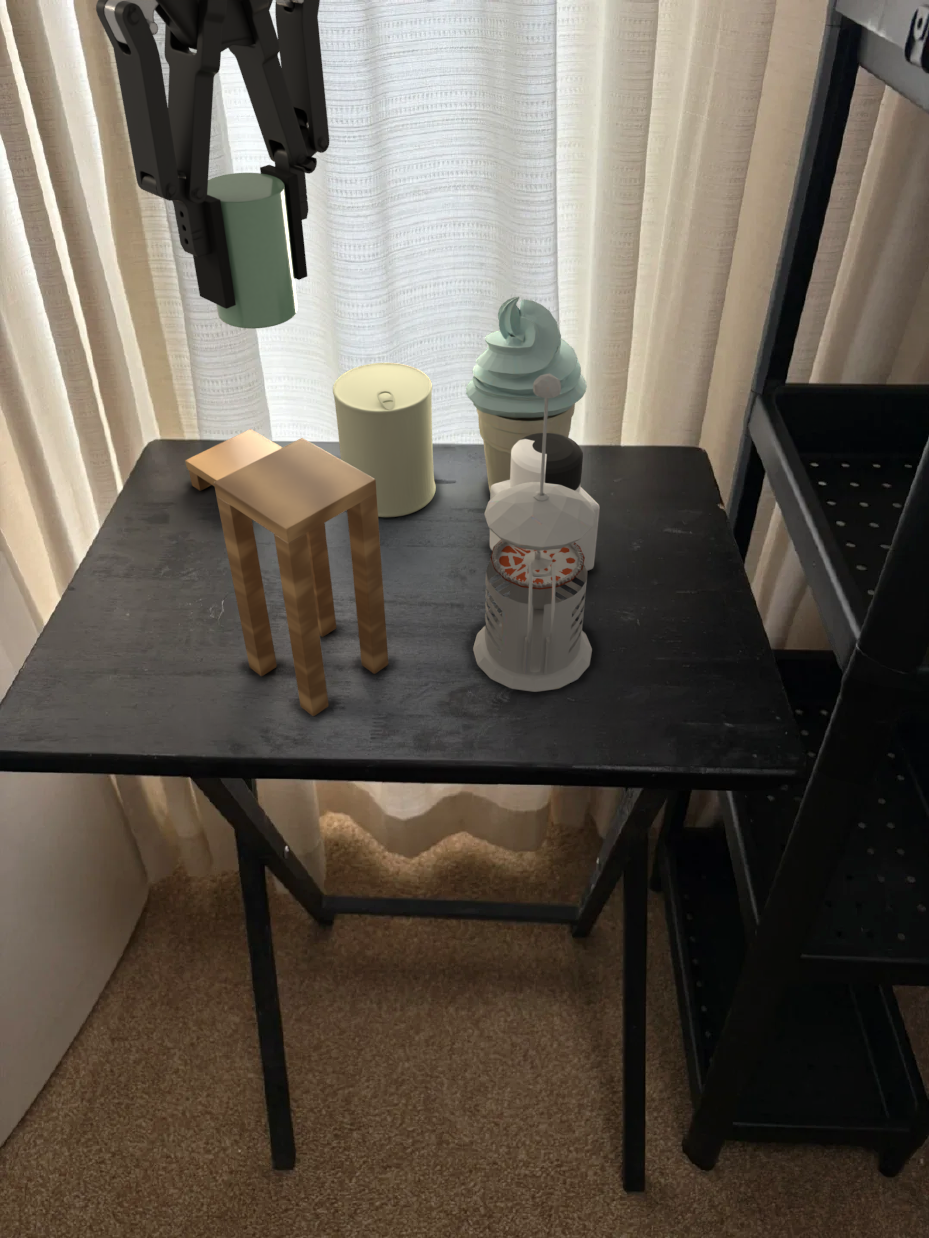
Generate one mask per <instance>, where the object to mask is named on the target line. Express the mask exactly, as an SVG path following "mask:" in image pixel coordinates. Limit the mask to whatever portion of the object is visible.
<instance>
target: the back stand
mask: <svg viewBox="0 0 929 1238" xmlns="http://www.w3.org/2000/svg"><path fill="white" fill-rule="evenodd" d="M281 448H283V447H282V446H281V445H279V444H277V443H275V442H274V441H272V440H270V439H269V438H267V437H265V436H264V435H262V434H260V433H259V432H257V431H255V430H253V429H252V428H249V429H247V430H245V431H243V432H241V433H239V434H237V435H235V436H233V437H231V438H229V439H226V440H224V441H222V442H220V443H218V444H216V445H214V446H212V447H210V448H208V449H206V450H204V451H201V452H200V453H197V454H195V455H192V456H191V457H188V458H187V459H185V460H184V461H185V466H186V469H187V470H188V473H189V478H190V483H191V486H192V487H194V488H195V489H196V490H198V491H200V492H201V491H203V490H206V489H207V488H209V487H211V486H213V487H215V486H214V482H215V481H217V480H219V479H221V478H223V477H225V476H227V475H229V474H231V473H233V472H235V471H237V470H239V469H241V468H243V467H245V466H247V465H249V464H251V463H253V462H255V461H257V460H259V459H261V458H263V457H265V456H267V455H269V454H271V453H273V452H275V451H277V450H279V449H281Z"/></svg>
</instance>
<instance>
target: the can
mask: <svg viewBox="0 0 929 1238" xmlns="http://www.w3.org/2000/svg"><path fill="white" fill-rule="evenodd" d="M432 391H433V383H432V380H431V379H430V377H429V375H427V374H426V373H425V372H424V371H422V370H421V369H418V368H417V367H414V366H411V365H407V364H403V363H397V362H374V363H368V364H363V365H359V366H356V367H354V368H351V369H349V370H347V371H345V372H344V373H342V374H341V375H339V376H338V377H337V379H336V380H335V381H334V383H333V386H332V395H333V398H334V406H335V415H336V424H337V425H336V426H337V433H338V434H337V435H338V443H339V454H340V460H342V461H344V462H346V463H347V464H349V465H351V466H353V467H355V468H356V469H358V470H360V471H362V472H363V473H365V474H367V475H369V476H370V477H372V478H374V479H375V480H376V492H377V493H376V494H377V508H378V518H395V517H402V516H407V515H410V514H413V513H415V512H418V511H419V510H421V509H423V508H424V507H426V506H427V505H428V504H429V503H431V501H432V500H433V498H434V497H435V495H436V494H435V493H436V490H437V489H436V487H437V486H436V482H435V475H434V473H435V472H434V452H433V451H434V450H433V408H432V407H433V405H432V404H433V403H432V397H433V395H432V393H433V392H432Z"/></svg>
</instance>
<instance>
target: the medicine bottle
mask: <svg viewBox="0 0 929 1238" xmlns="http://www.w3.org/2000/svg"><path fill="white" fill-rule="evenodd" d="M542 443H543V433H536V434H532V435H528V436H526V437H524V438H522V439H520V440H519V441H518V442H517V443H516V444H515V445H514V446H513V448H512V450H511V470H510V480H506V481H503V482H499V483H496V484H493V485H492V486H491V491H489V494H490V496H489V497H490V499H489V501H490V500H491V499H492V498H493V497H494V496H496V495H497V494H498V493H499V492H500V491H503V490H505V489H508V488H511V487H513V486H516V485H519V484H523V483H528V482H540V481H541V462H542ZM583 460H584V452H583V450H582V448H581V447H580V445H579V444H578V443H577V442H576V441H575V440H573V439H572V438H570V437H566V436H563V435H560V434H555V433H546V450H545V468H544V483H549V484H558V485H562V486H565V487H567V488H569V489H572V490H574V491H577V492H578V493H579V494H580V495H582V496H583V497H584V498H585V499H587V500H588V501H589V502H590V504H591V506H592V508H593V510H594V512H595V519H594V523H593V527H592V528H591V529H590V530H589V531H588V532H587V533H586V534H585V535H584V536H583V537H582V538H581V539H580V540H578V541H576V542H575V543H576V544H577V545H579V546H580V548H581V550H582V552H583V555H584V557H585V560H584V566H585V568H586V570H587V572H588V571H590V570H592V569H594V567H595V559H596V549H597V540H598V539H597V538H598V529H599V519H600V511H601V510H600V504H599V503H598V502H597V501H596V500H595V499H594V498H593V497H592V496H591V495H590V494H589V493H588V492H587V491H586V490H585V489H584V488H583V487H581V485H582V484H581V482H582V473H583V462H584V461H583ZM500 540H501V539H500V538H499V537H498V536H497V535H496V534H495V533H493V532H492V531H491V529H490V528H489V548H490V550H491V551H492V550H493V547H494V546H495V545H496V544H497V543H498V542H499V541H500Z"/></svg>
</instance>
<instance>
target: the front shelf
mask: <svg viewBox="0 0 929 1238" xmlns="http://www.w3.org/2000/svg"><path fill="white" fill-rule="evenodd" d="M213 487H214V490H215V491H214V492H215V495H216V502H217V506H218V511H219V518H220V522H221V527H222V531H223V532H222V533H223V538H224V543H225V547H226V553H227V558H228V563H229V569H230V573H231V578H232V584H233V588H234V594H235V600H236V604H237V609H238V613H239V614H238V616H239V620H240V625H241V630H242V631H241V632H242V635H243V642H244V645H245V651H246V656H247V661H248V667H249V669H251V670H252V671H254V672H255V673H256V674H258V675H259V676H260V677H264V676H265V675H267V674H268V673H270V672H271V671H273V670H275V668H276V669H277V659H276V653H275V652H276V651H275V647H274V641H273V636H272V635H273V634H272V629H271V623H270V618H269V612H268V606H267V605H268V604H267V600H266V599H267V598H266V594H265V588H264V582H263V576H262V569H261V565H260V559H259V552H258V547H257V541H256V536H255V535H256V534H255V530H254V528H255V527H254V525H253V524H254V523H253V521H254V522H255V523H257V524H259V526H261V527H263V528H265V529H266V530H268V531H269V532H271V533H272V534H273V537H274V543H275V550H276V556H277V564H278V569H279V577H280V582H281V589H282V596H283V602H284V608H285V614H286V615H285V616H286V621H287V622H286V623H287V628H288V629H287V630H288V634H289V642H290V648H291V655H292V661H293V667H294V672H295V679H296V680H295V681H296V686H297V693H298V699H299V705H300V708H301V709H303V710H304V711H305V712H307V713H308V714H309V715H310V716H312V717H315V716H318V714H320V713H321V712H323V711H325V710H326V709H327V708H328V707H329V706H330V705H329V696H328V690H327V682H326V681H327V680H326V674H325V666H324V657H323V652H322V651H323V650H322V643H321V638H324V637H325V636H326V635H327V636H328V635H329V634H330V633H331V632H333V631H334V630H336V629H337V621H336V610H335V602H334V594H333V585H332V576H331V575H332V574H331V568H330V567H331V566H330V560H329V559H330V558H329V549H328V540H327V532H326V523H327V522H329V521H330V520H332V519H334V518H335V517H337V516H339V515H341V514H343V513H344V512H346V514H347V525H348V536H349V547H350V557H351V566H352V568H351V569H352V580H353V588H354V589H353V590H354V599H355V610H356V611H355V612H356V621H357V631H358V642H359V651H360V652H359V653H360V664H361V666H362V667H364V668H365V669H367V670H368V671H369V672H371V673H372V674H374V675H375V674H377V673H379V672H380V671H381V670H382V669H385V668H386V667H387V666H388V665H389V651H388V649H389V648H388V637H387V622H386V607H385V596H384V594H385V593H384V580H383V568H382V567H383V566H382V565H383V564H382V553H381V537H380V522H379V517H378V508H377V494H376V493H377V492H376V480H375V479H374V478H372V477H370V476H369V475H367V474H365V473H363V472H362V471H360V470H358V469H356V468H355V467H353V466H351V465H349V464H347V463H346V462H344V461H342V460H341V458H340V457H337V456H335V455H334V454H332V453H330V452H328V451H326V450H325V449H323V448H322V447H319V446H318V445H317V444H314V443H312V442H310V441H308V440H307V439H305V438H303V437H300V438H299V439H296V440H294V441H292V442H291V443H288V444H286V445H284V446H283V447H282V448H281V449H279V450H277V451H275V452H273V453H271V454H269V455H267V456H265V457H263V458H261V459H259V460H257V461H255V462H253V463H251V464H249V465H247V466H245V467H243V468H241V469H239V470H237V471H235V472H233V473H231V474H229V475H227V476H225V477H223V478H221V479H219V480H217V481H215V482H214V486H213Z"/></svg>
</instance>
